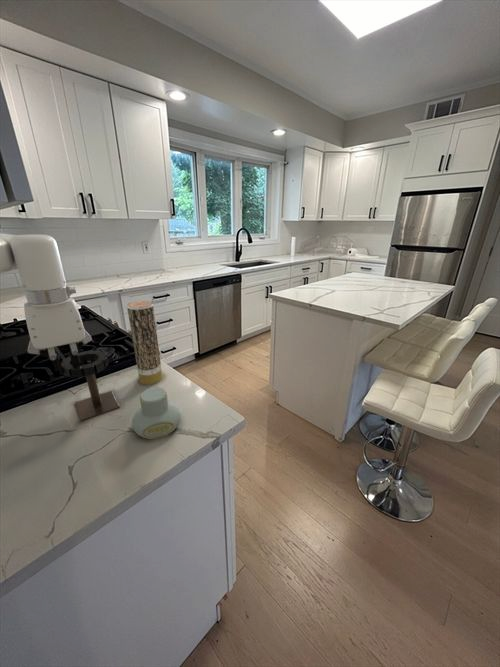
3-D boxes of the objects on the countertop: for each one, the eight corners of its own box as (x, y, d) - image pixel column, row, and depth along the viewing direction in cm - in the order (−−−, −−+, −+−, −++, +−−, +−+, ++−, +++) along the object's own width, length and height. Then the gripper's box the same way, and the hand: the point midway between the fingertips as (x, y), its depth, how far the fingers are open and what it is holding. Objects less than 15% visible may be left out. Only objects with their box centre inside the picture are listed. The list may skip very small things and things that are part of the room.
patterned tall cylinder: (161, 374, 91) (152, 300, 81) (163, 384, 85) (153, 306, 75) (139, 377, 88) (127, 302, 79) (140, 389, 82) (126, 308, 73)
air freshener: (134, 447, 62) (127, 410, 58) (133, 423, 69) (127, 389, 65) (184, 434, 65) (180, 399, 62) (178, 413, 72) (175, 380, 69)
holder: (82, 425, 68) (69, 381, 63) (76, 406, 75) (65, 365, 70) (120, 411, 73) (112, 369, 68) (112, 394, 80) (104, 356, 75)
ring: (65, 381, 62) (63, 374, 61) (60, 364, 70) (58, 357, 69) (113, 368, 68) (111, 361, 67) (103, 353, 75) (102, 347, 74)
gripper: (87, 287, 67) (101, 355, 74) (0, 297, 58) (26, 373, 65) (93, 294, 61) (108, 366, 68) (-2, 305, 52) (27, 388, 59)
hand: (68, 369), depth 66 cm, fingers closed on ring, 2 cm apart
